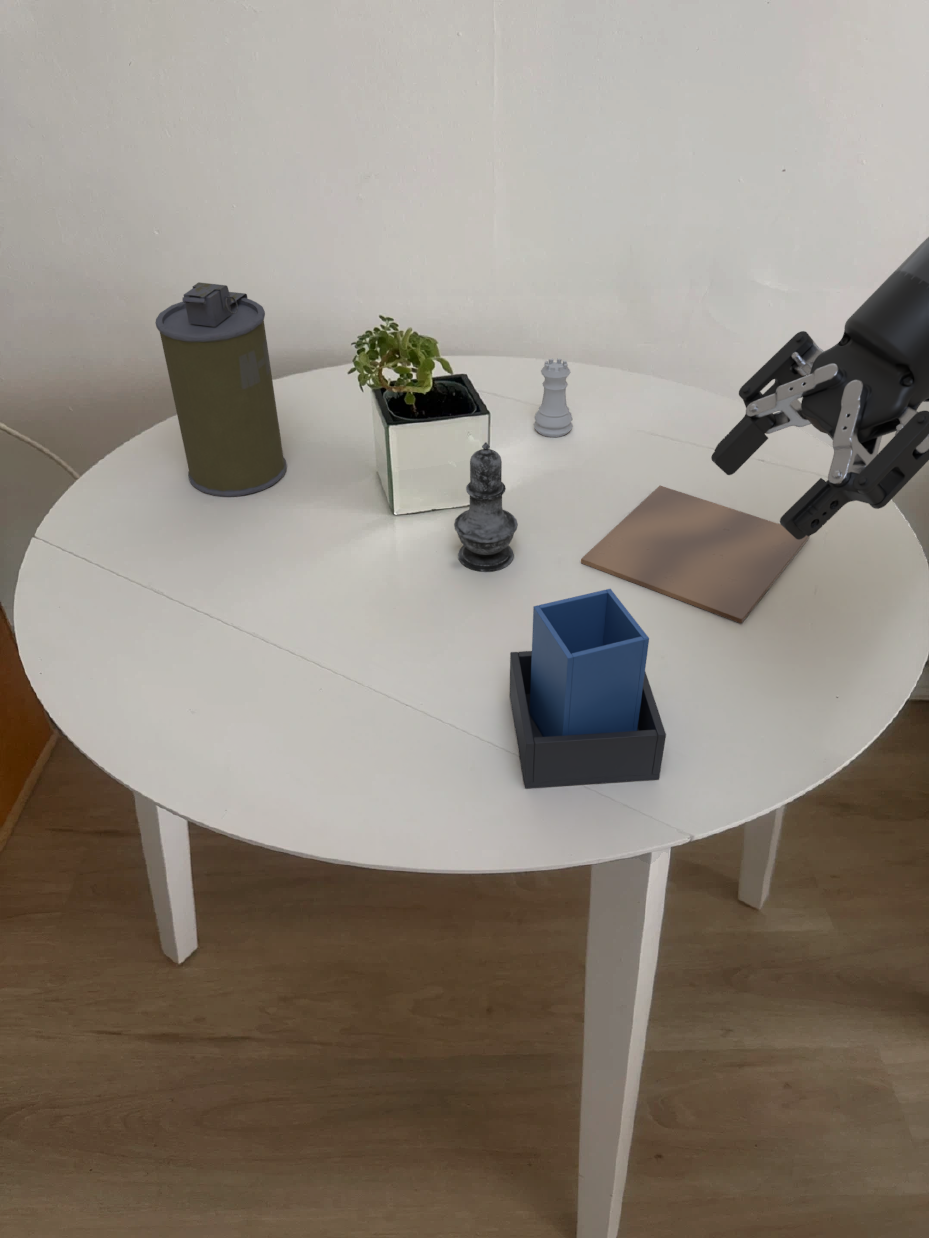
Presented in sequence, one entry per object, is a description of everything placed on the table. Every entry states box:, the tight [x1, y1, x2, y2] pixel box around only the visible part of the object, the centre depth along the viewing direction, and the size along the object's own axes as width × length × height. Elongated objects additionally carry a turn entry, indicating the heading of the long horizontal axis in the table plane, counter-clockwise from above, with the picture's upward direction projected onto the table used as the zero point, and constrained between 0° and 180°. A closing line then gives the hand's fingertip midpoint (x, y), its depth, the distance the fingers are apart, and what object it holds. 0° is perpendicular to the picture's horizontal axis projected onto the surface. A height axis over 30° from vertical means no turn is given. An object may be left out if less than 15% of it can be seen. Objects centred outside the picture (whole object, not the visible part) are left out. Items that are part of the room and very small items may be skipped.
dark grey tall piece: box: [453, 442, 519, 573], centre depth 91 cm, size 6×6×12 cm
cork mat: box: [580, 485, 811, 625], centre depth 94 cm, size 16×16×1 cm
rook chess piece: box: [533, 358, 574, 438], centre depth 111 cm, size 4×4×8 cm
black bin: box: [509, 650, 667, 789], centre depth 74 cm, size 10×10×5 cm
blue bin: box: [530, 588, 650, 737], centre depth 72 cm, size 6×6×10 cm
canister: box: [155, 282, 288, 497], centre depth 101 cm, size 11×10×20 cm
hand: (752, 498), depth 67 cm, fingers open, 8 cm apart
